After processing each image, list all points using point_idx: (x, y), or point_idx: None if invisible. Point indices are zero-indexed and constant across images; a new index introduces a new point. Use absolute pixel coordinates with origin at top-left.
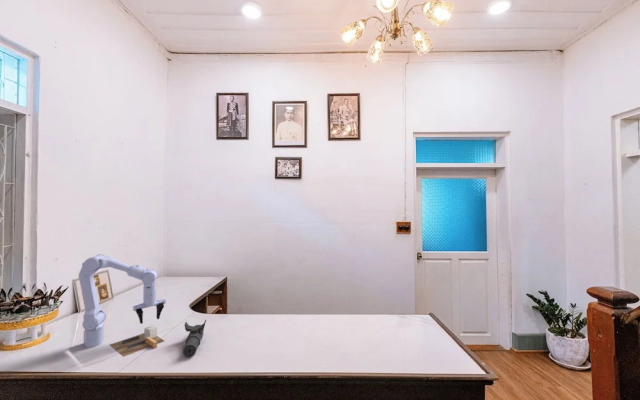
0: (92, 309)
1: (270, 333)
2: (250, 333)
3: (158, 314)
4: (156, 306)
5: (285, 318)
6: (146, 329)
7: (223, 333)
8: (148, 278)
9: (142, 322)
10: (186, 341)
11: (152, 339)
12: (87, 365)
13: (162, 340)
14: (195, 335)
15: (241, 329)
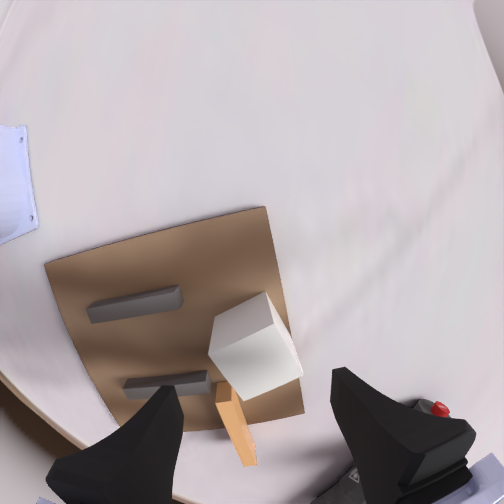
0: None
1: (491, 440)
2: (483, 431)
3: (348, 442)
4: (396, 450)
5: None
6: (222, 372)
7: (467, 412)
8: None
9: (181, 425)
10: (345, 493)
11: (243, 439)
12: (27, 376)
13: (297, 403)
14: None
15: (497, 402)
